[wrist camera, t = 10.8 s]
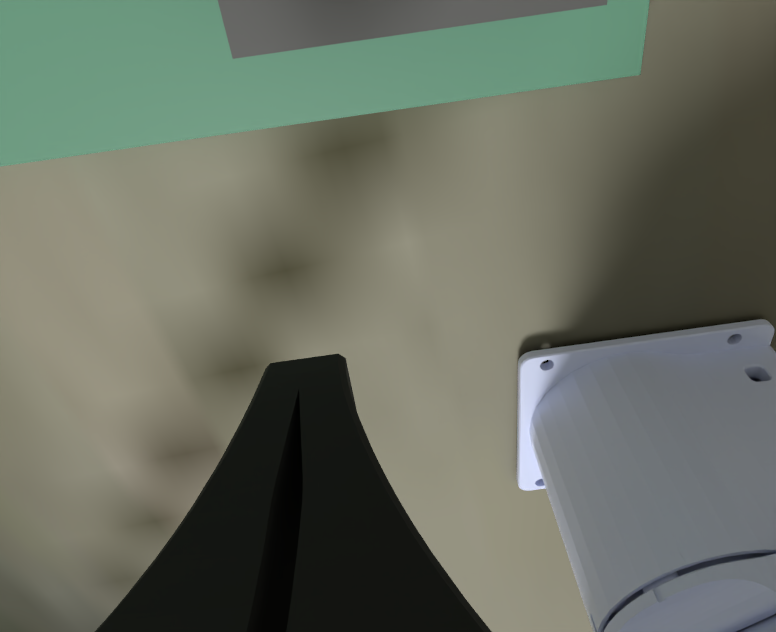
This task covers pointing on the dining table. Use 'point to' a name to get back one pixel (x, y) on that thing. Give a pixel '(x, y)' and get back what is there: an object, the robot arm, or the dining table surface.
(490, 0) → the board
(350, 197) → the dining table surface
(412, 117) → the dining table surface
